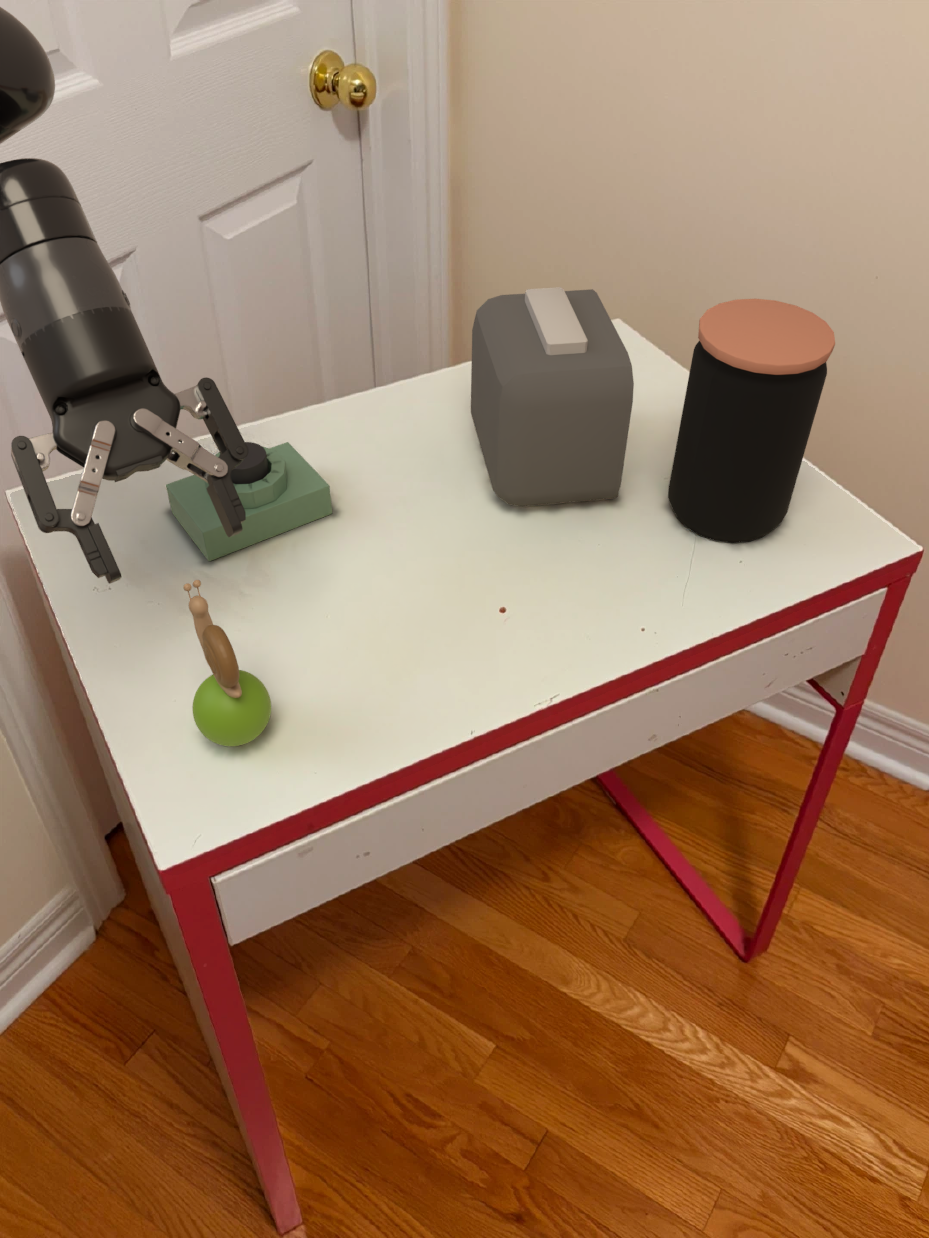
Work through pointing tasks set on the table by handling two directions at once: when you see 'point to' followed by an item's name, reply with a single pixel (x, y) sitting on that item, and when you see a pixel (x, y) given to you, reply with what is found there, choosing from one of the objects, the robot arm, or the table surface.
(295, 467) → the green push button box
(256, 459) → the black button
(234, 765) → the table surface
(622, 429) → the alarm clock
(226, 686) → the snail figurine
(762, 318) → the coffee jar
